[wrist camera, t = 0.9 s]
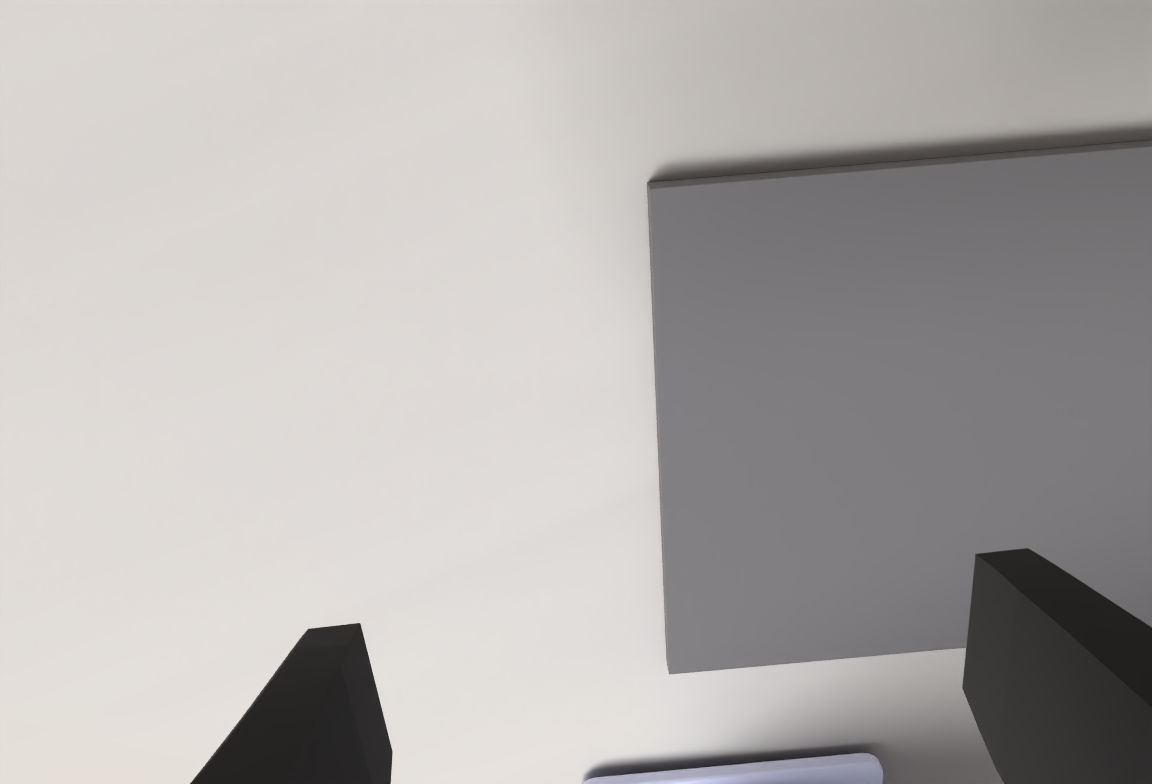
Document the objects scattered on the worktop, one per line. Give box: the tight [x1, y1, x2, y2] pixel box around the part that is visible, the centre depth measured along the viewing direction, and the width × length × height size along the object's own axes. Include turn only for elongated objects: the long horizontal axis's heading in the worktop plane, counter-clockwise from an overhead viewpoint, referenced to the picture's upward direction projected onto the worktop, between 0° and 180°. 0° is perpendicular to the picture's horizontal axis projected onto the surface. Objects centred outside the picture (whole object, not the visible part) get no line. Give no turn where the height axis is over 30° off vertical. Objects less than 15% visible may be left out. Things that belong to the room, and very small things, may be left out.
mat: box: [647, 140, 1152, 674], centre depth 22 cm, size 12×12×1 cm
